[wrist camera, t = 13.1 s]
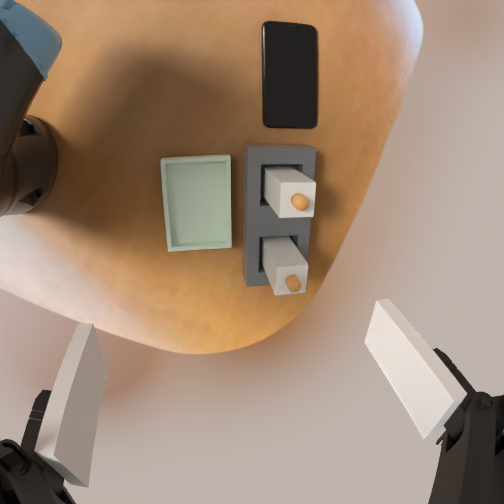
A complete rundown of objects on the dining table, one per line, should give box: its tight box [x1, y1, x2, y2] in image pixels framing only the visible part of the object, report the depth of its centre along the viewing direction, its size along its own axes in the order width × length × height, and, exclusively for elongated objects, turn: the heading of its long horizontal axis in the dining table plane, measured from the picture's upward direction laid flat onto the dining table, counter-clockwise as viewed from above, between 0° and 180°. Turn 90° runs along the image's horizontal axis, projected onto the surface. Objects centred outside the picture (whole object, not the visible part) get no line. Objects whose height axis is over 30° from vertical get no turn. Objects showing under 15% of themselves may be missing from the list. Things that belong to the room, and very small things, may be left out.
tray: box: [160, 154, 232, 252], centre depth 41 cm, size 9×13×2 cm
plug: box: [260, 236, 308, 295], centre depth 41 cm, size 4×4×12 cm
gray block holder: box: [243, 144, 316, 286], centre depth 39 cm, size 9×20×12 cm, turn 179°
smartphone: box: [262, 21, 318, 129], centre depth 36 cm, size 8×1×16 cm
